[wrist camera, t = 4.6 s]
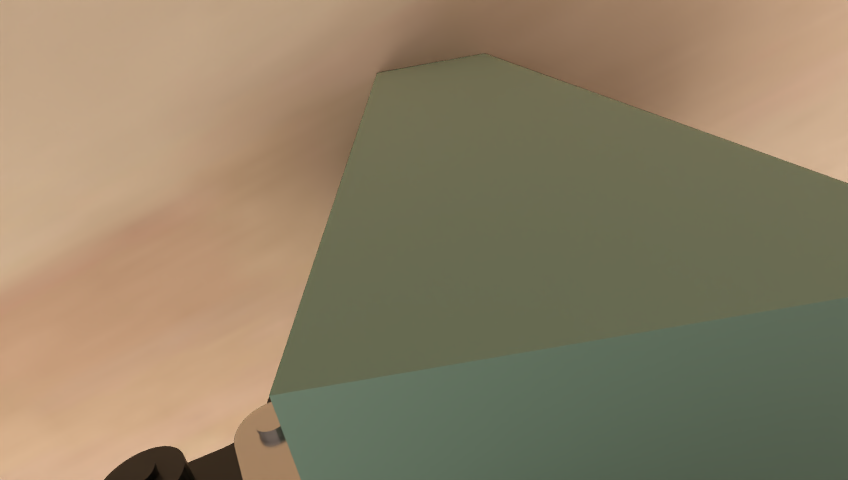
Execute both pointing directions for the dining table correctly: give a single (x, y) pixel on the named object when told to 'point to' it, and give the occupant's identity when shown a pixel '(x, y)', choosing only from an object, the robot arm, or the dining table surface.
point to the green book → (565, 296)
